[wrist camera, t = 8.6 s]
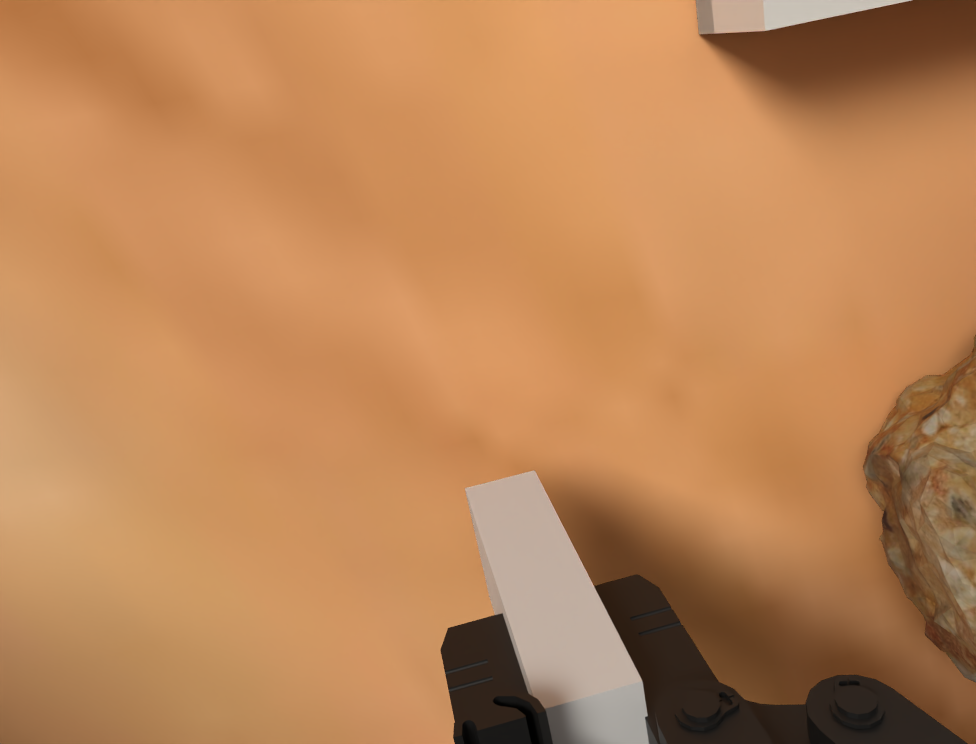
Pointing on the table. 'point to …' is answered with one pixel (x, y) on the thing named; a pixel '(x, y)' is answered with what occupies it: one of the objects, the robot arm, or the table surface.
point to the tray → (773, 13)
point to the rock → (932, 504)
